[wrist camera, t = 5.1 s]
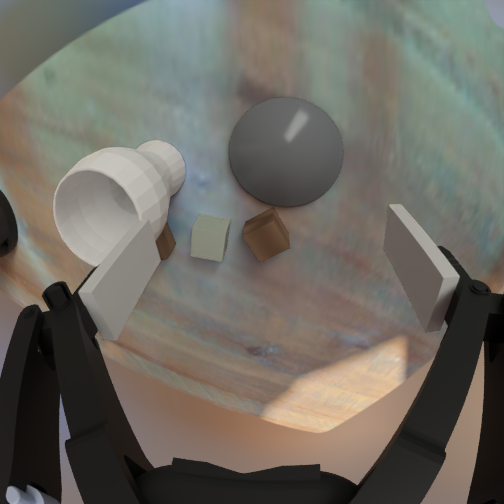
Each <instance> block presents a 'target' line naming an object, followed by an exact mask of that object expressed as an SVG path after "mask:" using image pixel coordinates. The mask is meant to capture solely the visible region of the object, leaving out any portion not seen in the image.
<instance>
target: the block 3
mask: <svg viewBox="0 0 504 504" xmlns="http://www.w3.org/2000/svg"><path fill="white" fill-rule="evenodd" d="M243 238H244V239H245V240H246V242H247V243H248V245H249V246H250V248H251V249H252V251H253V252H254V254H255V255H256V257H257V258H258V260H259V261H260V262H261V261H263V260H265V259H268V258H270V257H272V256H274V255H276V254H279V253H281V252H283V251H285V250H287V249H289V248H290V244H289V232H288V231H287V229H286V227H285V226H284V224H283V222H282V221H281V219H280V217H279V216H278V214H277V212H276V211H275V209H274V207H273V208H271V209H269V210H267V211H265V212H263V213H261V214H259V215H257V216H256V217H254V218H252V219H250V220H248V221H246V223H245V227H244V232H243Z"/></svg>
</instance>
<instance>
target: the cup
mask: <svg viewBox="0 0 504 504" xmlns="http://www.w3.org/2000/svg"><path fill="white" fill-rule="evenodd" d="M185 174H186V170H185V163H184V160H183V157H182V156H181V154H180V153H179V151H178V150H177V149H176V148H175V147H173V146H172V145H171V144H169V143H167V142H164V141H159V140H153V141H148V142H146V143H143V144H142V145H140V146H139V147H138V148H137V149H130V148H122V147H110V148H103V149H101V150H99V151H96V152H94V153H92V154H90V155H88V156H86V157H84V158H82V159H80V160H79V161H78V163H77V164H76V165H75V166H74V167H73V168H72V169H71V170H70V171H69V172H68V173H67V174H66V175H65V176H64V177H63V178H62V180H61V181H60V182H59V184H58V186H57V189H56V191H55V195H54V201H53V213H54V219H55V223H56V226H57V229H58V231H59V233H60V235H61V237H62V239H63V241H64V242H65V244H66V245H67V246H68V247H69V249H70V250H71V251H72V252H73V253H74V254H75V255H76V256H78V257H79V258H80V259H81V260H83V261H85V262H86V263H88V264H90V265H92V266H95V267H97V266H98V265H99V264H101V262H102V261H103V260H104V259H105V258H106V256H107V255H108V254H109V253H110V252H111V250H112V249H113V248H114V247H115V246H116V245H117V243H118V242H119V241H120V240H121V239H122V238H123V236H124V235H125V234H126V233H127V232H128V231H129V230H130V228H131V227H132V226H133V225H134V224H135V223H136V222H137V221H138V220H147V219H149V221H150V224H151V228H152V232H153V235H154V239H155V241H156V240H157V238H158V237H159V235H160V234H161V232H162V230H163V228H164V226H165V224H166V221H167V216H168V209H169V202H170V197H171V196H172V195H174V194H175V193H177V191H178V190H179V189H180V188H181V187H182V184H183V182H184V180H185Z"/></svg>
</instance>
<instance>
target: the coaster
mask: <svg viewBox="0 0 504 504" xmlns="http://www.w3.org/2000/svg"><path fill="white" fill-rule="evenodd" d="M343 156H344V149H343V142H342V138H341V135H340V132H339V130H338V128H337V126H336V124H335V123H334V122H333V120H332V119H331V118H330V117H329V116H328V114H327V113H326V112H324V111H323V110H322V109H321V108H319V107H318V106H316V105H314V104H312V103H310V102H308V101H305V100H302V99H298V98H292V97H279V98H273V99H269V100H266V101H263V102H261V103H259V104H257V105H256V106H254V107H252V108H251V109H250V110H249V111H247V112H246V113H245V114H244V115H243V116H242V117H241V119H240V120H239V121H238V123H237V125H236V126H235V128H234V130H233V133H232V136H231V140H230V145H229V158H230V163H231V167H232V170H233V172H234V174H235V176H236V178H237V180H238V181H239V183H240V184H241V185H242V186H243V187H244V189H245V190H246V191H248V192H249V193H250V194H251V195H253V196H254V197H255V198H257V199H259V200H261V201H263V202H266V203H268V204H272V205H276V206H285V207H291V206H298V205H303V204H306V203H309V202H311V201H313V200H315V199H317V198H319V197H320V196H322V195H323V194H324V193H325V192H326V191H328V190H329V188H330V187H331V186H332V185H333V184H334V182H335V181H336V179H337V177H338V175H339V173H340V170H341V168H342V163H343Z"/></svg>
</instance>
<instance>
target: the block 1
mask: <svg viewBox="0 0 504 504" xmlns="http://www.w3.org/2000/svg"><path fill="white" fill-rule="evenodd" d="M155 242H156V246H157V249H158V253H159V256H160V259H161V260H163V259H167V258H168V256H169V255H170V253H171V251H172V250H173V248H174V246H175V244H176V242H175V240H174V238H173V235H172V233H171V231H170V228H169V226H168V224H167V222H166V224H165V226H164V228H163V230H162V232H161V234H160V235H159V237H158V238H157V240H156V241H155Z"/></svg>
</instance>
